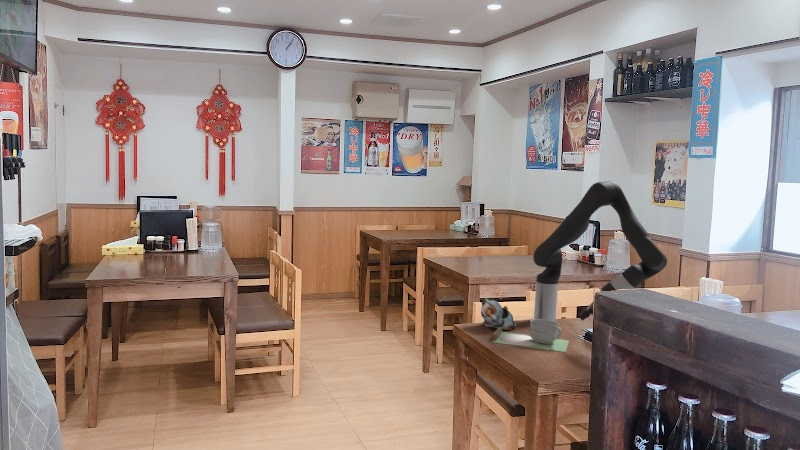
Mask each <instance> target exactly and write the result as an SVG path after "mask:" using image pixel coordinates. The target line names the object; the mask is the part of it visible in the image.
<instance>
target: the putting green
mask: <svg viewBox="0 0 800 450" xmlns="http://www.w3.org/2000/svg"><path fill="white" fill-rule="evenodd" d="M502 330H503V329H502V328H501V327H499V328H496V329H495V332H494V333H493V335H492V341H491V343H493V342H494V343H493V344H500V345H508V346H515V347H524V348H530V349H531V348H533V349H538V350H545V351H555V352H561V353H566V352H567V350H568V349H567V348H568V347H569V346H568V345H569V343H570V342H569V341H570V340H569V339H561V338H560V339H559V338H557V339H556V340H555V341H554V342H552V343H551V344H543V343H538V342H535V341H534V340H533V339H532V338H531V337H530V334H529V335H528V334H521V333H513V332H507V331H506V332H505V331H502Z"/></svg>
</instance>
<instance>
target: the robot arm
mask: <svg viewBox="0 0 800 450" xmlns="http://www.w3.org/2000/svg"><path fill="white" fill-rule="evenodd" d="M625 195H626V194H625V193H624V191H623V190H622V188H621V186H620V185H619V184H618V183H617V182H616V181H613V180H607V181H598V182H595V183H593V184H592V185H591V186H590V187H589V188H588V190H587V191H586V193H585V194H584V195H583V198H581V200H580V201H579V202H578V203H577V205H576V206H575V207H574V208H573V210H572V211H570V213H569V214H568V215H567V216H566V217H565V218H564V220H562V222H561V223H560V224H559V225H558V227H557V228H556V229H554V231H553V232H552V233H551V234H550V235H549V236H548V237H547V238H546V239H545V240H544V241H542V242H541V243H540V244H539V245H538V246H537V247H536V249H535V251H534V252H533V255H532V257H533V259H532V260H533V262H534V264H535V265H536V266H538V267H541V268H545V269H543V271H542V272H540V273H538V274H537V275H536V280H535V281H536V283H535V297H534V308H533V310H534V311H533V312H534V313H533V319H544V320H550V321H554V322H557V321H556V319H557V318H556V317H557V307H558V306H557V305H558V291H559V288H558V287H559V280H560V278H561V272H562V267H563V252H562V248H564V247H567V246H569V245H570V244H573V243H574V242H575V241H578V239H579V238H581V236H583V234H584V233H586V231H587V230H588V228H589V226H590V219H591V217H592V216H593V214H594V213H596V212H597V211H598V210H599V209H600V208H602V207H605V206H611V207H612V208H613V209H614V210H615V212H616V213H617V215H618V218H619V221H620V226H621V231H622V233H623V235H624V237H625V238H626V239H627V241H628V242H629V244H630V245H631V246H632V248H634V249H635V250H634V251H636V253H637V255H638V257H639V258H640V260H641V261H640V262H638V263H637V264H632V265H630V266H629V267H627V268H626V269H625V270H624V271H622V272H621V273H619V274H618V275H617V276H615V277H614V278H613V279H611V280H609V282H608V283H606V284H605V285H604V286H602V287H601V292H602V291H611V290H617V289H634V290H635V289H636V288H638V287H639V286H640V285H641V284H642V283H643V282H644V281H646V280H648V279H650V278H652V277H653V276H655V275H657V274H659V273H660V272H661V271H663V270H664V269H665V268H666V267H667V265H668V258H667V256H666V254H664V253H663V252H662V251H661V250H660V248H659V247H658V246H657V245H656V244H655V243H654V242H653V240H652V237H651V235H650V234H649V232H648V231H647V230H646V229H645V227H644V226H643V224H641V222H640V221H639V219H638V218H637V216H636V215H635V212H634V211H633V208H632V207H631V205H630V202H629V201H628V199H627V197H626V196H625ZM593 304H594V300H593V301H592V302H591V303H590V304H589V305H588V307H586V309H584V310H583V312H581V313H580V314H579V315H578V318H579V319H580V320H581V321H584V320H586V319H587V318H588V317H590V316H593V315H594V314H593Z"/></svg>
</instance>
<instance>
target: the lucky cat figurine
mask: <svg viewBox="0 0 800 450" xmlns="http://www.w3.org/2000/svg"><path fill="white" fill-rule="evenodd" d="M489 299H490V298H488V297H487V298H484V299H482V302H481V308H480V309H481V310H480V315H481V318H482V319H483V322H484V326H485V327H486V328H494V329H498V328H499V327H501V328H502V330H504V331H508V332H509V330H510V331H512V330H514V329H515V328H517V324H516V322H515V320H514V317H513V316H514V315H513V314H512V313H511V312H510V310H508V309H509V307H508V306H507V305H504V306H503V307H502V305H501V304H500V303H499V302H498V301H497V300H492V299H491V300H489Z"/></svg>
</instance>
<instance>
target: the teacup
mask: <svg viewBox="0 0 800 450" xmlns="http://www.w3.org/2000/svg"><path fill="white" fill-rule="evenodd" d="M529 323H530V324H529V336H530V337H531V338H532V339H533V340H534V341H535V342H538V343H543V344H551V343H552V342H554V341H555V340H556V339H559V338H560V337H562V334H563V330H562V328H561V327H560V323H559V322H557V321H555V322H554V321H550V320H544V319H534V318H533V319H530V320H529Z"/></svg>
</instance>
